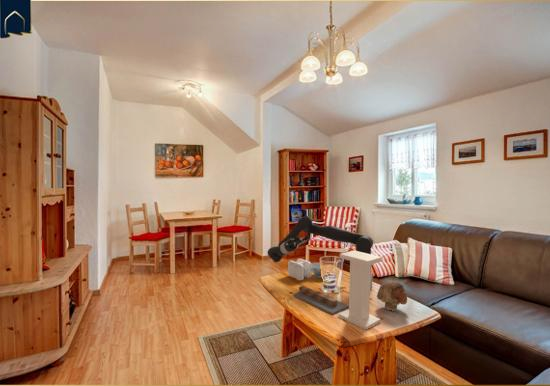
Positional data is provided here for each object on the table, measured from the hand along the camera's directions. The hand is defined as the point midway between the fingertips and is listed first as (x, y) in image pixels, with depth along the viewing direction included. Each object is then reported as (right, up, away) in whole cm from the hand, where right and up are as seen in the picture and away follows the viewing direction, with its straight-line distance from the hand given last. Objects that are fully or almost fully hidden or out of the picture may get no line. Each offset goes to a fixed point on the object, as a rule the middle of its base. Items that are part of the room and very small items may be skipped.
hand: (304, 237), depth 169 cm
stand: (+24, -36, -30) cm, 53 cm away
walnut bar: (+7, -34, -8) cm, 35 cm away
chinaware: (+15, -33, +33) cm, 49 cm away
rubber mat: (+8, -35, -10) cm, 37 cm away
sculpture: (+45, -36, -19) cm, 61 cm away
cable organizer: (0, -33, +30) cm, 45 cm away
